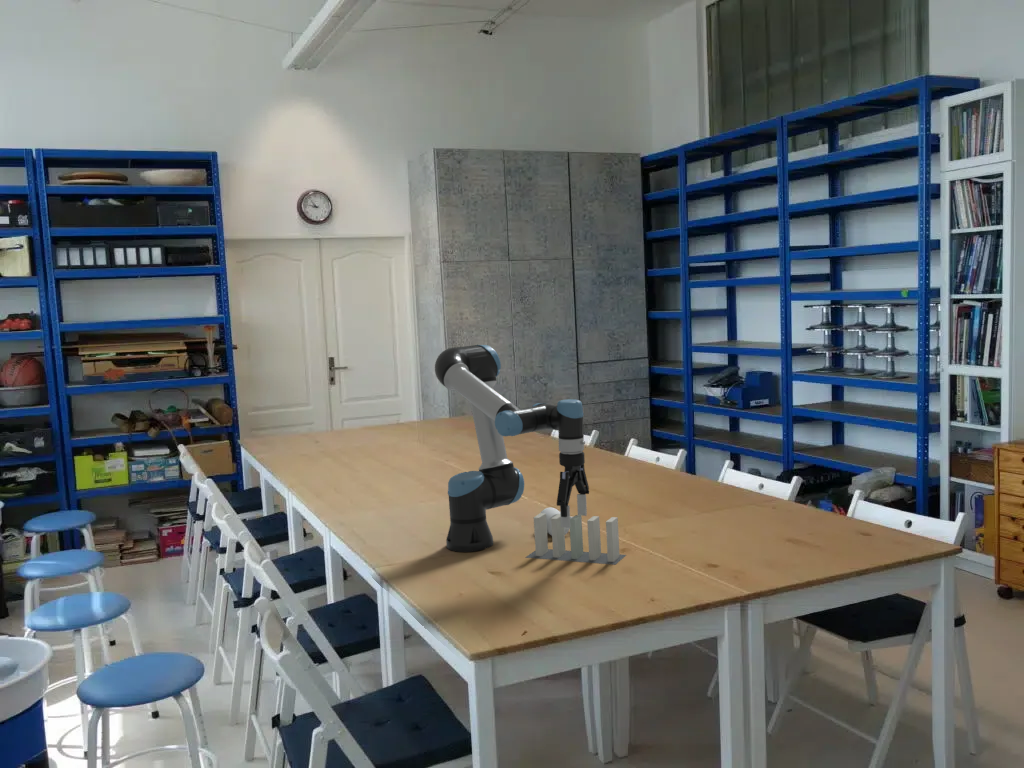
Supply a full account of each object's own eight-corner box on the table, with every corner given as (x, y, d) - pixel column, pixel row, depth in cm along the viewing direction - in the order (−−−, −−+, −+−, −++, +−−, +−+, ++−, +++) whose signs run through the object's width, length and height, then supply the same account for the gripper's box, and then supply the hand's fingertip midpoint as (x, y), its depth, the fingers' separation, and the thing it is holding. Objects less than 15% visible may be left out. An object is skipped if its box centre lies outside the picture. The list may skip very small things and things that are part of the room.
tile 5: (607, 561, 268) (605, 521, 267) (613, 556, 273) (611, 517, 272) (613, 562, 267) (611, 521, 266) (619, 556, 272) (617, 517, 271)
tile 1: (535, 555, 278) (533, 517, 277) (542, 550, 283) (540, 513, 282) (541, 556, 277) (538, 517, 276) (548, 551, 282) (546, 513, 281)
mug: (547, 539, 298) (546, 515, 297) (538, 531, 307) (537, 508, 306) (582, 534, 301) (581, 510, 300) (572, 527, 310) (571, 504, 309)
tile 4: (589, 560, 271) (587, 520, 269) (595, 554, 275) (593, 516, 274) (595, 560, 270) (592, 520, 269) (601, 555, 275) (599, 516, 273)
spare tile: (571, 558, 273) (569, 519, 272) (577, 553, 278) (575, 515, 277) (577, 559, 272) (574, 519, 271) (583, 554, 277) (581, 515, 276)
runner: (525, 558, 277) (524, 557, 277) (538, 549, 286) (538, 548, 286) (615, 565, 265) (615, 564, 265) (626, 555, 274) (626, 554, 274)
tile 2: (553, 557, 276) (551, 518, 274) (560, 552, 280) (558, 514, 279) (558, 557, 275) (556, 518, 274) (565, 552, 280) (563, 514, 278)
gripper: (567, 460, 259) (570, 533, 262) (597, 444, 281) (600, 511, 284) (543, 459, 262) (546, 531, 265) (575, 443, 285) (577, 509, 287)
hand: (574, 521), depth 274 cm, fingers open, 13 cm apart
